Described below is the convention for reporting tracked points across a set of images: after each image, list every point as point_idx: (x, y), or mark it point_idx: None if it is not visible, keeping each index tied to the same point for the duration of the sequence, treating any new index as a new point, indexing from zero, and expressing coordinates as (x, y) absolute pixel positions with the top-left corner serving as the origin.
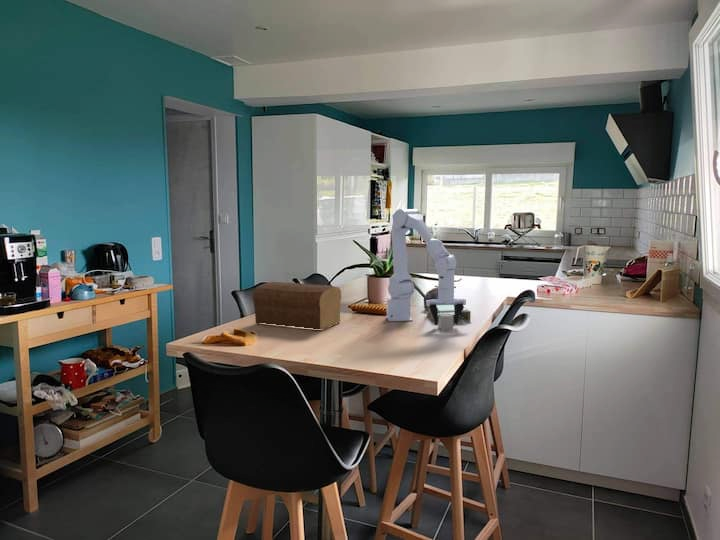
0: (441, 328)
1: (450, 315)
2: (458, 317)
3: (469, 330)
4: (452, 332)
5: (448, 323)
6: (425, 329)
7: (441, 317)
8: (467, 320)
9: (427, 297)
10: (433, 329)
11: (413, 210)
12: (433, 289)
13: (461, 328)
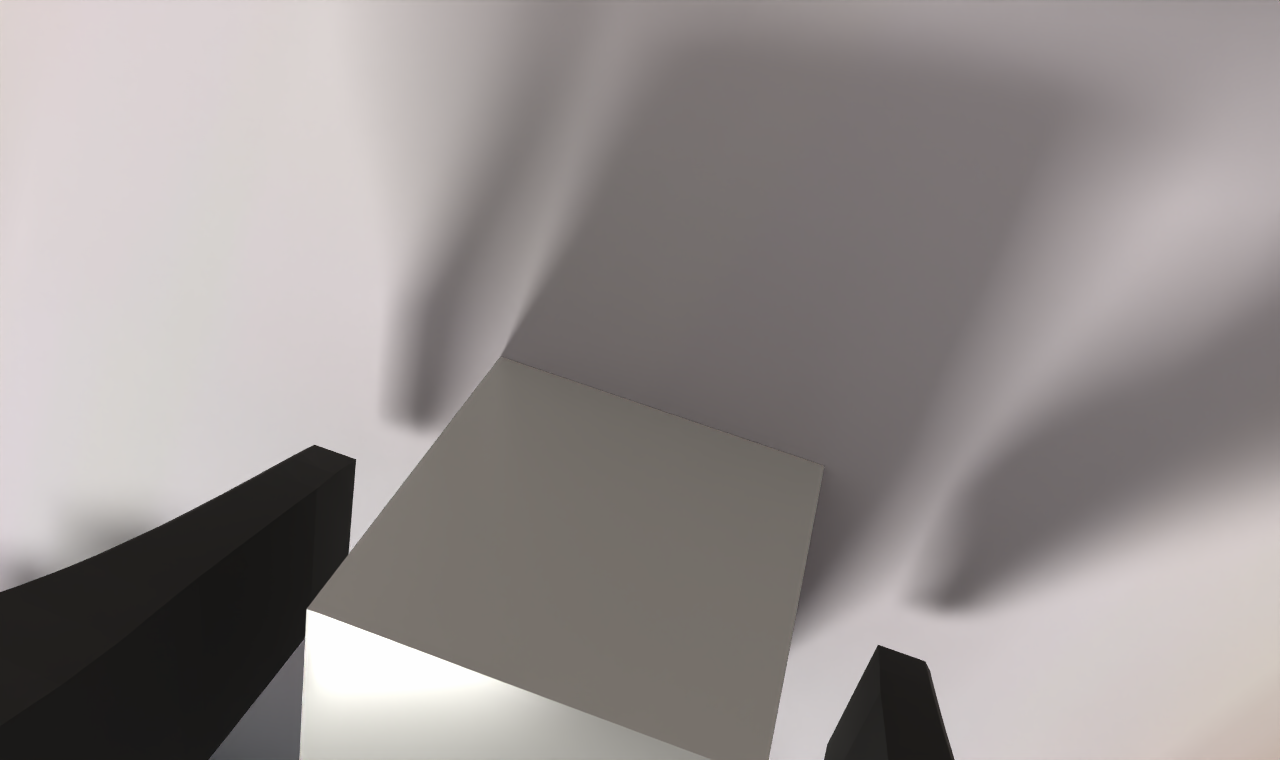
0: (814, 483)
1: (373, 721)
2: (159, 542)
3: (131, 55)
4: (694, 34)
5: (576, 500)
6: (1224, 666)
7: (765, 742)
8: None
9: None
10: (1014, 571)
11: None
12: None
13: (273, 334)
